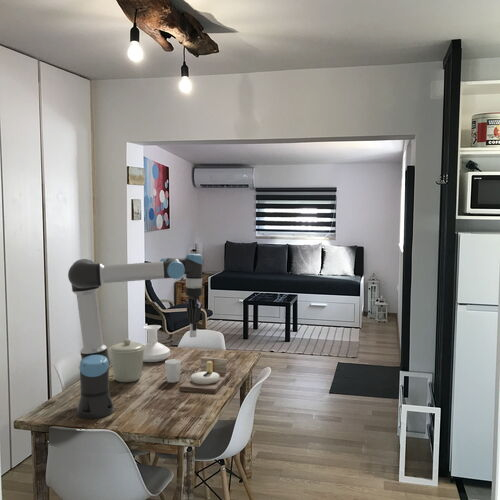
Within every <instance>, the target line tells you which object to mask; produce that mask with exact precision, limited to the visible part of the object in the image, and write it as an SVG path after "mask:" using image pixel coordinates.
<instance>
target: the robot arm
mask: <svg viewBox="0 0 500 500" xmlns="http://www.w3.org/2000/svg"><path fill="white" fill-rule="evenodd" d="M203 265H204V264H203V255H202V254H200V253H187V254H186V256H185V257H184V258H176V257H175V258H173V257H171V258H170V257H167V258H166V257H165V258H161V259H160V261H153V262H152V261H151V262H138V263H137V262H135V263H122V264H107V265H103V264H102V263H101V262H100V263H95V262H94V261H92V260H91V259H87V258H86V259H85V258H82V259H81V258H80V259H78V260H76V261H74V262H73V264H72V265H71V266H70V268H68V273H67V276H68V277H67V278H68V281H69V282H70V285H71V292H72V293H73V294H75V295H76V300H77V309H78V317H79V324H80V329H81V330H80V332H81V338H82V349H81V350H80V358H81V359H80V361H79V375H80V376H79V377H80V378H79V379H80V380H79V381H80V382H79V385H80V397H79V401H78V404H77V407H76V415H78V416H77V417H78V418H81V419H84V420H85V419H86V420H87V419H88V420H89V419H90V420H93V419H100V418H104V417H107V416H109V415H111V414H113V413H114V410H115V409H114V407H115V406H114V403H113V400H112V398H111V395H110V384H109V383H110V381H109V380H110V379H109V377H110V376H109V375H110V366H111V365H110V363H111V360H110V357H109V350H108V346H107V345H106V344H104V339H103V333H102V326H101V319H100V318H101V315H100V309H99V300H98V295H97V292H98V290H99V289H100V287H103V285H104V284H112V283H124V282H125V283H127V282H135V281H137V282H138V281H148V280H149V281H151V280H163V279H166V280H167V279H174V280H175V279H176V280H178V279H181V278H182V277H183V276H184V275H185V286H186V288H185V296H187V299H185V305H186V315H187V317H186V318H187V321H188V322H189V338H197V332H198V331H197V330H198V329H197V328H198V327H197V324H198V323H200V321H201V320H200V319H201V312H202V307H203V303H202V302H201V303H200V296H202V295H203V288H202V286H203Z"/></svg>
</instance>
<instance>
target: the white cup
mask: <svg viewBox="0 0 500 500" xmlns="http://www.w3.org/2000/svg"><path fill="white" fill-rule="evenodd" d="M164 361H165V362H164V365H165V366H164V367H165V369H164V370H165V376H166V377H165V378H166V380H165V381H166V382H167V383H171V384H172V383H178V382H180V381H181V369H182V368H181V366H182V364H181V363H182V361H181V359H177V358H172V359H167V360H166V359H165V360H164Z"/></svg>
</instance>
